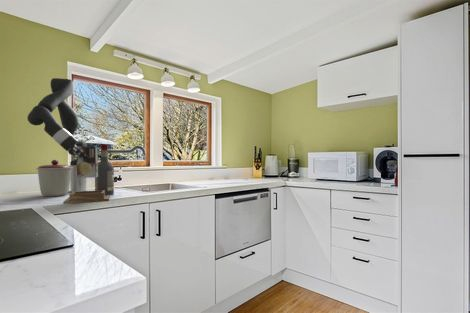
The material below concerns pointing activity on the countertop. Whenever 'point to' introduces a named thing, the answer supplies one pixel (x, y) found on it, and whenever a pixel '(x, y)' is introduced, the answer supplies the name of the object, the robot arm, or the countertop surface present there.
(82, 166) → the coffee box
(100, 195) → the walnut caddy
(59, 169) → the canister
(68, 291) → the countertop surface
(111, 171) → the liquor
